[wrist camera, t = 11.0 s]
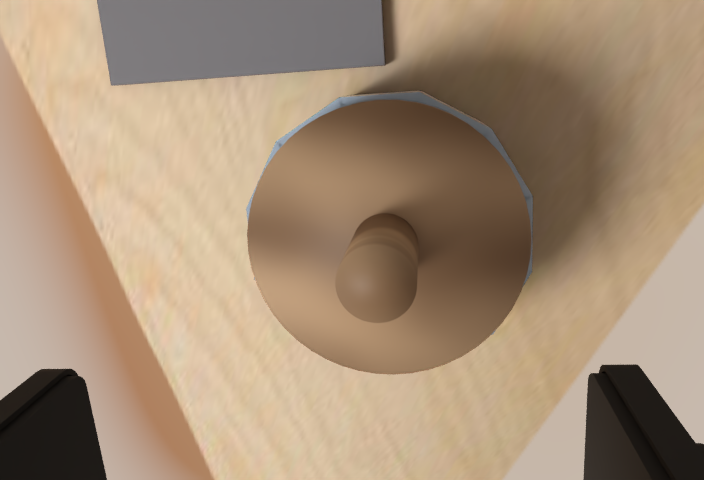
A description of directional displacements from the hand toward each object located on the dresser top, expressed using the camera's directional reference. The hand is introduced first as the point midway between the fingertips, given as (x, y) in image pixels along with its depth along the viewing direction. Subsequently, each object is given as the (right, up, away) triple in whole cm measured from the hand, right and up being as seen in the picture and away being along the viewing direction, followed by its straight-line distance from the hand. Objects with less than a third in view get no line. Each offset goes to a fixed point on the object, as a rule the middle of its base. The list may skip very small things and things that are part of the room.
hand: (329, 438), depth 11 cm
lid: (+2, +4, +15) cm, 16 cm away
